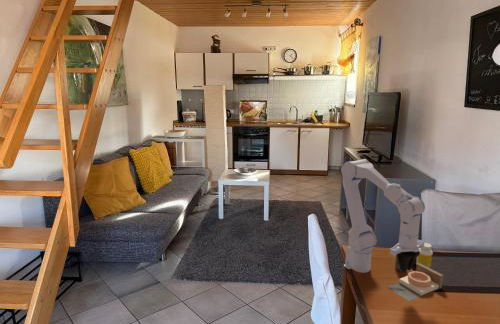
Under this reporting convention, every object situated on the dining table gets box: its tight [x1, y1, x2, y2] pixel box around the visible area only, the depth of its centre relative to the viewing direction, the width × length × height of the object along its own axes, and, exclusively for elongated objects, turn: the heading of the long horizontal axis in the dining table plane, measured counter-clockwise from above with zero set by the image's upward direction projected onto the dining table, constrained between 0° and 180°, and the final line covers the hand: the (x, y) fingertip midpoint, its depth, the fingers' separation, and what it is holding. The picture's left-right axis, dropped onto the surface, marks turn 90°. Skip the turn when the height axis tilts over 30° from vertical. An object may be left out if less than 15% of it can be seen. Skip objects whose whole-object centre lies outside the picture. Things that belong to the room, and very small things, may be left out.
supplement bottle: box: [415, 242, 434, 269], centre depth 135 cm, size 5×5×10 cm
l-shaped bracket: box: [386, 263, 444, 302], centre depth 120 cm, size 10×17×6 cm, turn 117°
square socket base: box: [398, 270, 439, 296], centre depth 121 cm, size 9×9×4 cm
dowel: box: [394, 256, 405, 273], centre depth 132 cm, size 4×4×7 cm
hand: (405, 269), depth 116 cm, fingers closed
